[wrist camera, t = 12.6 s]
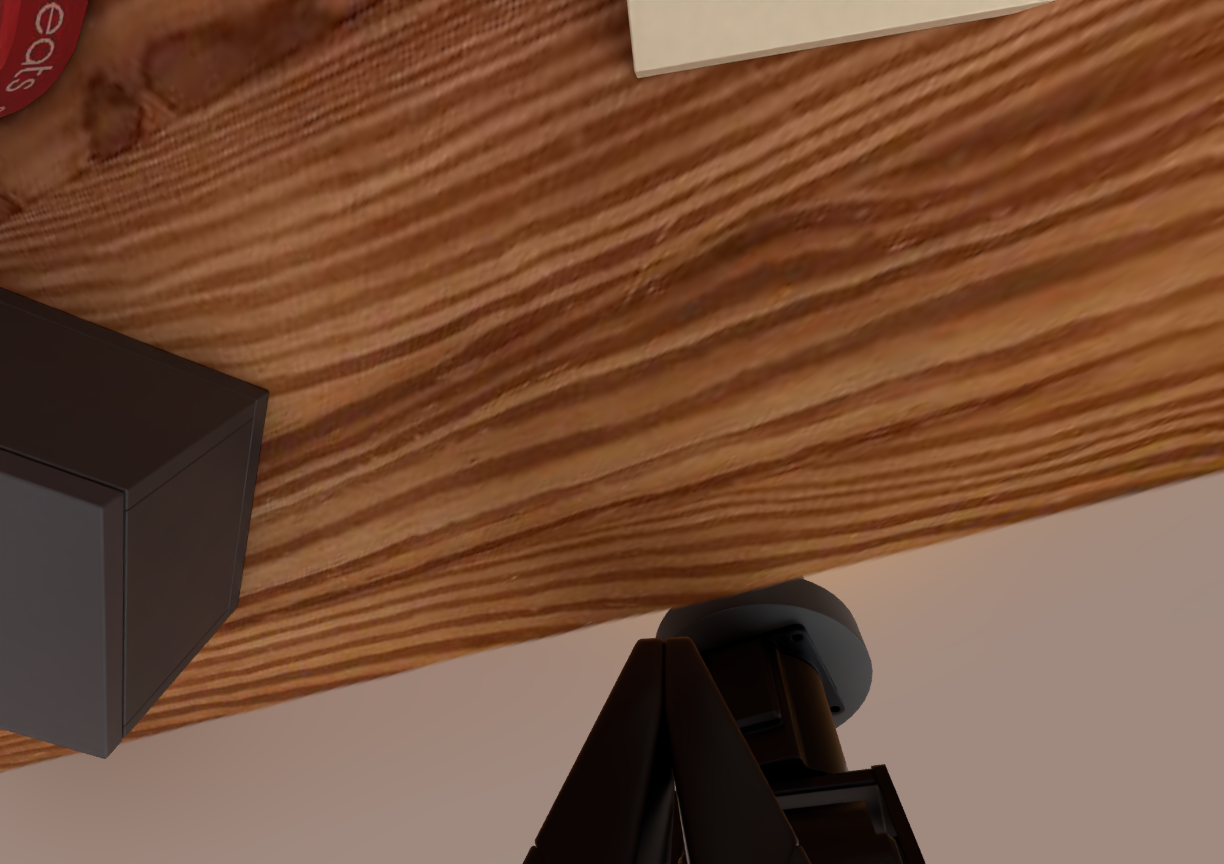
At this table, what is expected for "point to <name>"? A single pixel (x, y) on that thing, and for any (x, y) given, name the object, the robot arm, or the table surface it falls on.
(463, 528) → the table surface
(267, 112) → the table surface
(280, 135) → the table surface
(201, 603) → the open hinged box
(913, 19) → the control block
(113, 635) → the box lid
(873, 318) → the table surface
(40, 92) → the headphones
